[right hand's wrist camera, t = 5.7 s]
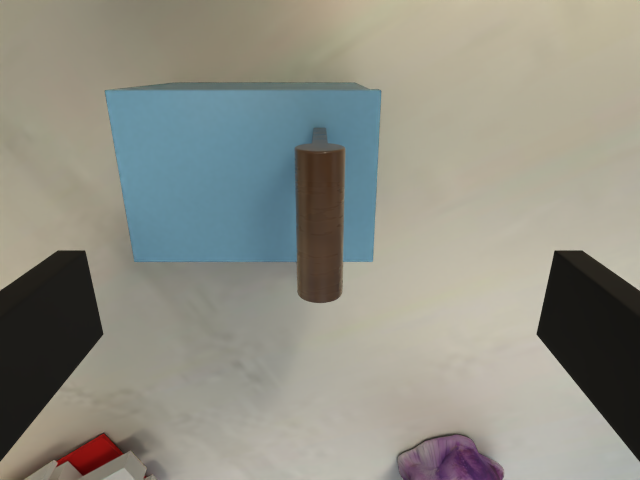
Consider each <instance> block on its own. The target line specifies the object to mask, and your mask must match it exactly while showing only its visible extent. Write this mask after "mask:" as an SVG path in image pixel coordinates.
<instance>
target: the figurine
mask: <svg viewBox="0 0 640 480" xmlns="http://www.w3.org/2000/svg"><path fill="white" fill-rule="evenodd" d="M398 465H399V472H400V475H401V477H402V478H403V480H502V479H503V478H504V469H503V467H502V466H501V465H500V464H499V463H497V462H496V461H494V460H492V459H490V458H488V457H486V456H483V455H481V454H480V453H478V451H477V448H476V446H475V444H474V442H473V441H472V440H471V439H470V438H468V437H465V436H462V435H457V434H455V435H452V436H445V437H439V438H434V439H431V440H427V441H424V442H423V443H421V444H419V445H418V446H417V447H415V448H414V449H412V450H409V451H407V452H404V453H403V454H401V455H399V457H398Z"/></svg>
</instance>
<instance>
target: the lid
mask: <svg viewBox="0 0 640 480" xmlns="http://www.w3.org/2000/svg"><path fill="white" fill-rule="evenodd" d="M105 95H106V101H107V106H108V112H109V118H110V124H111V129H112V135H113V141H114V147H115V153H116V158H117V164H118V170H119V176H120V181H121V187H122V193H123V199H124V204H125V210H126V216H127V222H128V227H129V233H130V239H131V245H132V251H133V256H134V261H135V262H297V292H298V295H299V296H300V297H301V298H302V299H304V300H306V301H309V302H314V303H326V302H331V301H334V300H336V299H338V298H339V297H340V296H341V294H342V287H343V262H373V249H374V228H375V208H376V188H377V168H378V147H379V127H380V107H381V90H379V89H111V90H105Z"/></svg>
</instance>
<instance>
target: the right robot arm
mask: <svg viewBox="0 0 640 480" xmlns="http://www.w3.org/2000/svg"><path fill="white" fill-rule="evenodd" d="M102 335H103V330H102V325H101V321H100V316H99V312H98V307H97V302H96V298H95V293H94V289H93V284H92V279H91V275H90V270H89V266H88V261H87V256H86V252H85V251H57V252H55V253H54V254H52V255H51V256H49V257H48V258H47V259H45V260H44V261H42V262H41V263H39V264H38V265H37V266H35V267H34V268H32V269H31V270H29V271H28V272H27V273H25V274H24V275H22V276H21V277H19V278H18V279H17V280H15V281H14V282H12V283H11V284H9V285H8V286H7V287H5V288H4V289H2V290H1V291H0V461H1V460H2V459H3V458H4V456H5V455H6V454H7V453H8V451H9V450H10V449H11V448H12V447H13V445H14V444H15V443H16V442H17V440H18V439H19V438H20V437H21V435H22V434H23V433H24V432H25V430H26V429H27V428H28V427H29V426H30V424H31V423H32V422H33V421H34V419H35V418H36V417H37V416H38V414H39V413H40V412H41V411H42V409H43V408H44V407H45V406H46V405H47V403H48V402H49V401H50V400H51V398H52V397H53V396H54V395H55V393H56V392H57V391H58V390H59V389H60V387H61V386H62V385H63V384H64V382H65V381H66V380H67V379H68V377H69V376H70V375H71V374H72V372H73V371H74V370H75V369H76V368H77V366H78V365H79V364H80V363H81V361H82V360H83V359H84V358H85V356H86V355H87V354H88V353H89V351H90V350H91V349H92V348H93V347H94V345H95V344H96V343H97V342H98V340H99V339H100V338H101V337H102ZM537 335H538V337H539V338H540V339H541V340H542V342H543V343H544V344H545V345H546V347H547V348H548V349H549V350H550V351H551V353H552V354H553V355H554V356H555V358H556V359H557V360H558V361H559V363H560V364H561V365H562V366H563V368H564V369H565V370H566V371H567V372H568V374H569V375H570V376H571V377H572V379H573V380H574V381H575V382H576V384H577V385H578V386H579V387H580V389H581V390H582V391H583V392H584V393H585V395H586V396H587V397H588V398H589V400H590V401H591V402H592V403H593V405H594V406H595V407H596V408H597V409H598V411H599V412H600V413H601V414H602V416H603V417H604V418H605V419H606V421H607V422H608V423H609V424H610V426H611V427H612V428H613V429H614V430H615V432H616V433H617V434H618V435H619V437H620V438H621V439H622V440H623V442H624V443H625V444H626V445H627V447H628V448H629V449H630V450H631V451H632V453H633V454H634V455H635V456H636V458H637V459H638V460H639V461H640V291H639V290H638V289H636V288H635V287H633V286H632V285H631V284H629V283H628V282H626V281H625V280H623V279H622V278H621V277H619V276H618V275H616V274H615V273H613V272H612V271H611V270H609V269H608V268H606V267H605V266H603V265H602V264H601V263H599V262H598V261H596V260H595V259H593V258H592V257H591V256H589V255H588V254H586V253H585V252H583V251H555V252H554V256H553V261H552V266H551V270H550V275H549V279H548V284H547V289H546V293H545V298H544V302H543V307H542V312H541V316H540V321H539V325H538V330H537Z"/></svg>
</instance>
